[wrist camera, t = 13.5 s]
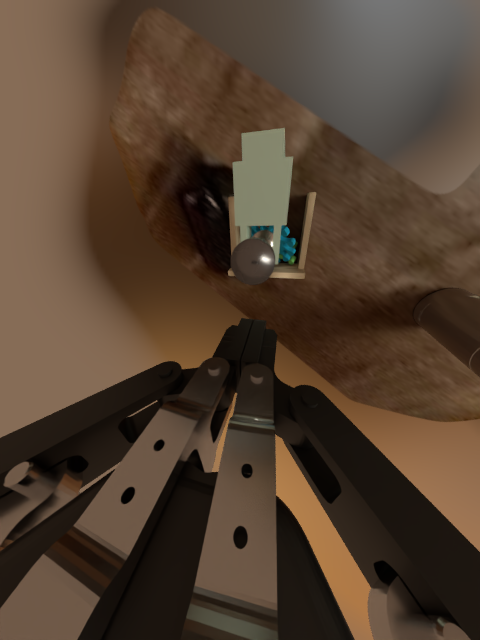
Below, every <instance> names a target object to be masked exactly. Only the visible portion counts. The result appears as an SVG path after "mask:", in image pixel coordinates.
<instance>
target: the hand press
mask: <svg viewBox="0 0 480 640" xmlns="http://www.w3.org/2000/svg"><path fill="white" fill-rule="evenodd" d="M292 164H293V157H285V128H281V129H273V130H265V131H257V132H249V133H242V161H240V162H233V182H234V208H235V226H240V242H242V241H243V240H245V239H248V238H251V226H269V225H274V233H273V250H274V253H275V264H278V260H279V249H280V237H281V226H282V225H287V215H288V205H289V194H290V184H291V174H292Z"/></svg>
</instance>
